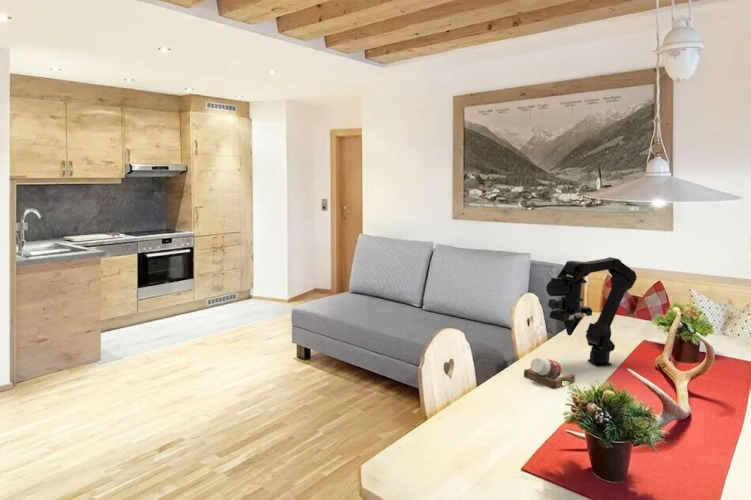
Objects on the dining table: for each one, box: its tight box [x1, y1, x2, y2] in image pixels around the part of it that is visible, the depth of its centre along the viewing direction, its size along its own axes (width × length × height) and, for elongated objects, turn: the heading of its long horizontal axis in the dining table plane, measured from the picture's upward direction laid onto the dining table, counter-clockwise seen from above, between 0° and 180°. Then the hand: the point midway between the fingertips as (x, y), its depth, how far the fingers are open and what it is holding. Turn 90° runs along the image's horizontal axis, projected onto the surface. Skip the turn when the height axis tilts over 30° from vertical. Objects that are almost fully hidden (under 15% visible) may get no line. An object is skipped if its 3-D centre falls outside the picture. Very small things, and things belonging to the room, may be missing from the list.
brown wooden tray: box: [523, 367, 576, 390], centre depth 188 cm, size 12×13×2 cm
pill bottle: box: [530, 357, 563, 379], centre depth 186 cm, size 6×6×11 cm
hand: (569, 335), depth 198 cm, fingers closed
